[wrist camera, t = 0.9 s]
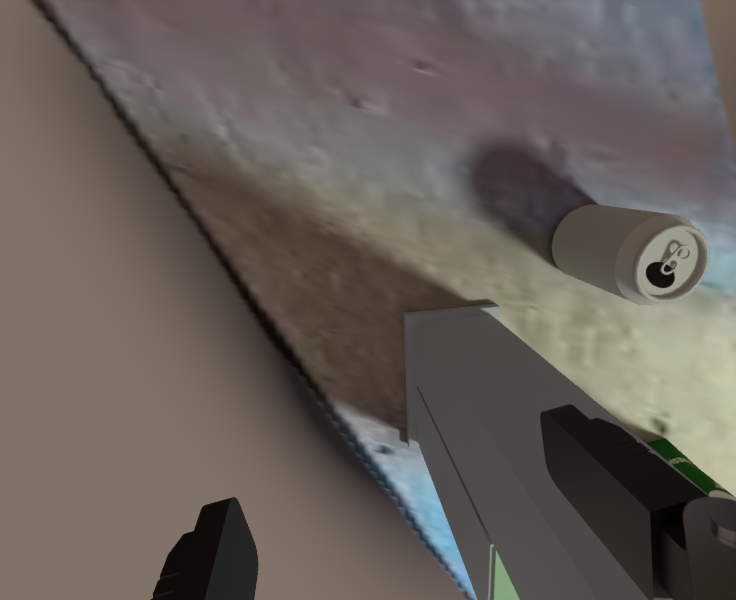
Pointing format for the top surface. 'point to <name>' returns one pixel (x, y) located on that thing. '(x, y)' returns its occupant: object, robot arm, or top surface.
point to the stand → (502, 458)
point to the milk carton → (689, 469)
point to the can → (632, 252)
